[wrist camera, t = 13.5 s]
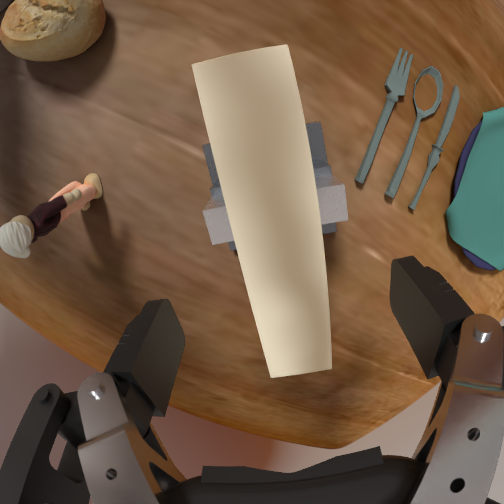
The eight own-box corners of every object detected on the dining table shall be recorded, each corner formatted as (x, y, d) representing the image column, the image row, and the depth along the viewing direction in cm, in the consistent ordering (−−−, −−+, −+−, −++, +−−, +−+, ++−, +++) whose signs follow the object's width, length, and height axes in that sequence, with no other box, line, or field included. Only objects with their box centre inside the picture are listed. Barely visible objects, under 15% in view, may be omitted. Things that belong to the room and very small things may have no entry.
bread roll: (49, -14, 13) (9, -28, 6) (135, -7, 16) (96, -36, 9) (14, 52, 17) (-30, 51, 10) (89, 74, 20) (37, 68, 13)
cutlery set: (502, 280, 28) (510, 288, 26) (338, 193, 26) (344, 199, 23) (550, 163, 20) (560, 167, 18) (402, 23, 17) (412, 16, 15)
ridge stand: (231, 246, 28) (220, 293, 20) (204, 144, 23) (178, 155, 16) (334, 227, 26) (358, 269, 19) (318, 121, 22) (342, 122, 15)
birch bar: (270, 328, 22) (271, 377, 17) (212, 80, 14) (191, 64, 10) (321, 320, 21) (331, 368, 17) (280, 66, 14) (287, 44, 9)
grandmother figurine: (92, 156, 24) (0, 191, 12) (115, 182, 25) (30, 231, 14) (59, 206, 26) (-19, 256, 15) (79, 229, 27) (6, 290, 16)
